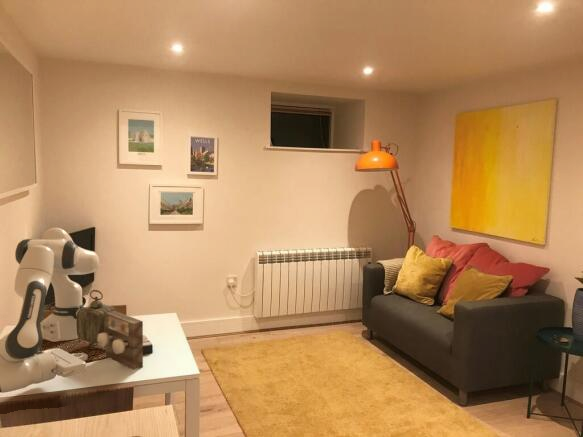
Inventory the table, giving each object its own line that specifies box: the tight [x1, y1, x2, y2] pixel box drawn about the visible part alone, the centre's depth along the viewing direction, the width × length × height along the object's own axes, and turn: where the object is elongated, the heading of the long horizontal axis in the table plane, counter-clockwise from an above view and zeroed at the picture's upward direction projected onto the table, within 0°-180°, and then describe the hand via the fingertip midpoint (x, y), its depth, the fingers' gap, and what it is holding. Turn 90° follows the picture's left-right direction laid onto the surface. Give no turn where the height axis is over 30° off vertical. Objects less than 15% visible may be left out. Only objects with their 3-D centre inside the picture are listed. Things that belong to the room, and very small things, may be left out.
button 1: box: [97, 332, 113, 348], centre depth 190 cm, size 7×5×5 cm
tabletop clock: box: [76, 289, 116, 350], centre depth 202 cm, size 14×9×25 cm, turn 66°
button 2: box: [112, 339, 129, 354], centre depth 183 cm, size 7×5×5 cm
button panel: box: [105, 310, 144, 371], centre depth 189 cm, size 4×20×18 cm, turn 51°
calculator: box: [143, 334, 154, 356], centre depth 203 cm, size 11×4×15 cm
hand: (85, 355), depth 171 cm, fingers closed
